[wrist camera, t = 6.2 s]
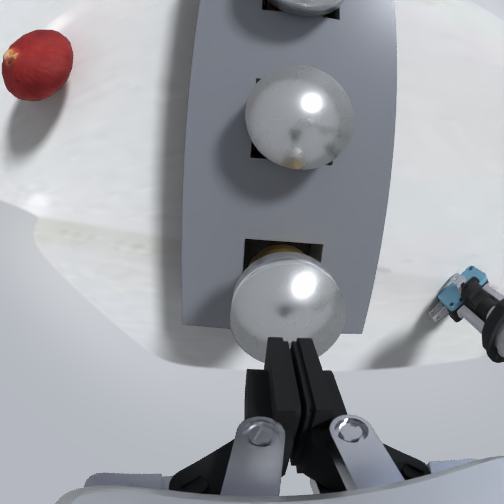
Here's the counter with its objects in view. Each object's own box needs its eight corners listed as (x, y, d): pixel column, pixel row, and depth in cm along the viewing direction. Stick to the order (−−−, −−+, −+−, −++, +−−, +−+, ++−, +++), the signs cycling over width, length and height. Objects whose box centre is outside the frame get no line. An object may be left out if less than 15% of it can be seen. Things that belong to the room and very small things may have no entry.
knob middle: (331, 92, 20) (356, 73, 15) (325, 170, 22) (349, 175, 16) (250, 84, 20) (249, 60, 15) (244, 162, 22) (241, 165, 16)
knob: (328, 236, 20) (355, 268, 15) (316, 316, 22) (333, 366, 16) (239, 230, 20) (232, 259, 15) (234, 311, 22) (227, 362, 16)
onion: (29, 100, 21) (-32, 92, 13) (51, 40, 19) (-4, 18, 11) (76, 109, 21) (15, 100, 13) (100, 45, 20) (48, 14, 12)
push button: (435, 330, 27) (487, 392, 17) (415, 293, 26) (475, 354, 16) (483, 288, 25) (545, 335, 16) (467, 248, 24) (539, 289, 15)
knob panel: (374, -14, 18) (390, -34, 14) (348, 309, 26) (361, 333, 22) (215, -33, 18) (210, -58, 14) (192, 300, 26) (182, 324, 22)
